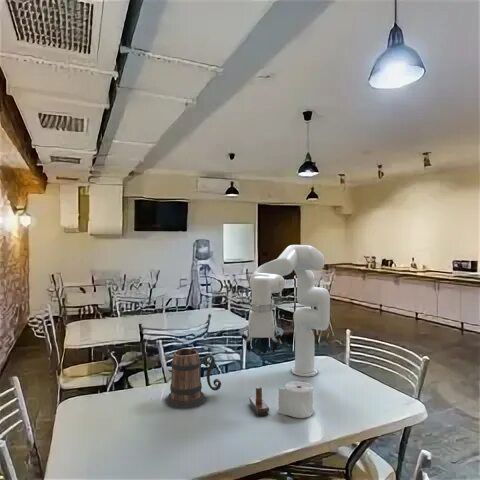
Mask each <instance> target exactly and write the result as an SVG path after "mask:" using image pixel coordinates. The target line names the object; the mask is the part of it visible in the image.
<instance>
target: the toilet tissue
mask: <svg viewBox="0 0 480 480" xmlns="http://www.w3.org/2000/svg"><path fill="white" fill-rule="evenodd" d="M313 395H314V387H313V385H312V384H311V383H309V382H305V381H300V380H297V381H289V382H287V383H285V385H284V389H283V388H280V387H278V403H277V404H278V408H277V409H278V411H277V412H278V413H279V414H282V415H285V416H289V417H292V418H297V419H298V418H299V419H304V418H309V417H311V416H312V415H313V412H314V411H313V407H314V406H313V404H314V402H313V401H314V400H313V399H314V397H313Z"/></svg>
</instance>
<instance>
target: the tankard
mask: <svg viewBox="0 0 480 480" xmlns="http://www.w3.org/2000/svg"><path fill="white" fill-rule="evenodd" d="M210 358H211V360H210V363H209V365H208V359H210ZM215 361H216V360H215V357H214V356H213V355H212V354H210V353H208V354H206V355H205V356H204V357H202V360H201V359H200V354H199V351H198V350H197V349H192V348H186V347H185V348H179V349H177V350H175V351H174V352H173V355H172V360H171V365H170V366H171V378H170V379H171V381H170V387H169V391H170V392H169V394H168V396H167V397H166V398H165V404H166V405H167V406H168V407H170V408H173V409H178V410H189V409H195V408H198V407H200V406H203V405H204V404H206V402H207V397H206V396H205V394H204V392H203V391H202V388H203V385H202V380H201V379H202V377H201V365H202V363H203V365H204V366H205V367H206V368H207V370H206V382H207V386H208V387H209V388H210V389H211V391H214V392H217V391H218V390H220V389H221V387H222V382H221V381H220V379H219V378H216V379H215V378H214V380H213V382H212V384H213V385H214V386H212V384H211V379H210V378H211V372H212V370H213V368H214V366H215Z"/></svg>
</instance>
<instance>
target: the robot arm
mask: <svg viewBox="0 0 480 480" xmlns="http://www.w3.org/2000/svg"><path fill="white" fill-rule="evenodd" d="M325 262H326V260H325V256H324V255H323V253H322V252H321V251H319V250H318V249H317V248H316V247H314V246H313V245H309V244H290V245H287V247H285V248H284V250H283V251H282V252H281V253H280V254H279V256H278V257H277V258H276V259H272V260H271V261H268V262H265V263H263V264H261V265H259V266H258V267H257V268H256V269H255V270H254V272H252V273H251V276H250V278H249V286H250V288H251V310H249V313H248V314H249V315H248V324H247V325H246V326H244V327H242V328H240V329H239V330H238V332H239V334H240V336H241V338H242V339H243V340H244V341H245V343H246V350H247V353H250V352H251V339H252V338H259V339H261V338H269V339H270V338H271V340H272V353H275V352H276V350H277V342H278V341H279V340H280V339H281V338H282V336H283V335H284V329H282V328H281V327H279V326H276V325H275V317H274V311H273V310H274V309H275V308H276V306H275V305H274V304H272V294H278V293H281V292H282V291H283V290H284V288H285V287H286V286H285V285H286V281H285V278H284V277H285V276H288V275H290V274H291V273H292V272H293V271H294V273H295V275H296V301H297V303H298V305H300V306H305V307H306V308H305V307H300V308H299V307H298V308H297V309H295V310H294V312H293V315H292V317H293V318H292V319H293V326H294V366H292V368H291V373H292V374H294V375H296V376H298V377H299V376H300V377H314V376H317V374H318V369H317V368H316V367H315V351H316V350H315V349H316V348H315V347H316V345H315V343H316V342H315V341H316V339H315V338H316V337H315V334H314V332H313V330H315V331H316V330H317V331H326V330H327V329H328V328H329V327H330V320H331V319H330V318H331V295H330V291H329V290H328V289H327V288H325V287H321V286H319V287H318V286H316V285H315V284H316V283H315V281H316V280H315V274H314V272H313V271H321V270H323V268H324V267H325ZM308 307H312V308H308ZM313 307H314V308H315V309H314V308H313ZM316 308H317V309H316ZM246 331H248V335H246V334H245V332H246ZM275 331H276V332H278V334H277V335H275Z"/></svg>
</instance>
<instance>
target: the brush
mask: <svg viewBox="0 0 480 480" xmlns="http://www.w3.org/2000/svg"><path fill="white" fill-rule="evenodd" d="M248 401H249V406H250V407H251V408H252V410H253V411H254V413H255V414H256V415H257V417H263V416H268V415H269V412H270V407H269V406H268V405H267V403H266V402H265V401H264V399H263V387H262V386H261V385H257V386H255V396H249V397H248Z"/></svg>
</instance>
